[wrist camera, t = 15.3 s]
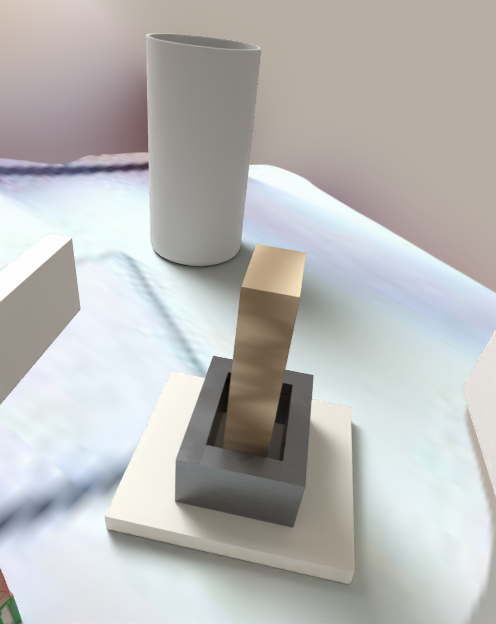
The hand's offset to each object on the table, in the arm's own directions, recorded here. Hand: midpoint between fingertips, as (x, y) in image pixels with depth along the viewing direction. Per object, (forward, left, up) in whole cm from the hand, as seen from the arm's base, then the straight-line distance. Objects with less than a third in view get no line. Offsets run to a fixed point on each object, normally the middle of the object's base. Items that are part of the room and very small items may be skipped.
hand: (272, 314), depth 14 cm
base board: (-1, +10, -21) cm, 24 cm away
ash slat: (-1, +10, -20) cm, 22 cm away
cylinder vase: (-14, +44, -22) cm, 51 cm away
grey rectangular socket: (-1, +10, -20) cm, 22 cm away
